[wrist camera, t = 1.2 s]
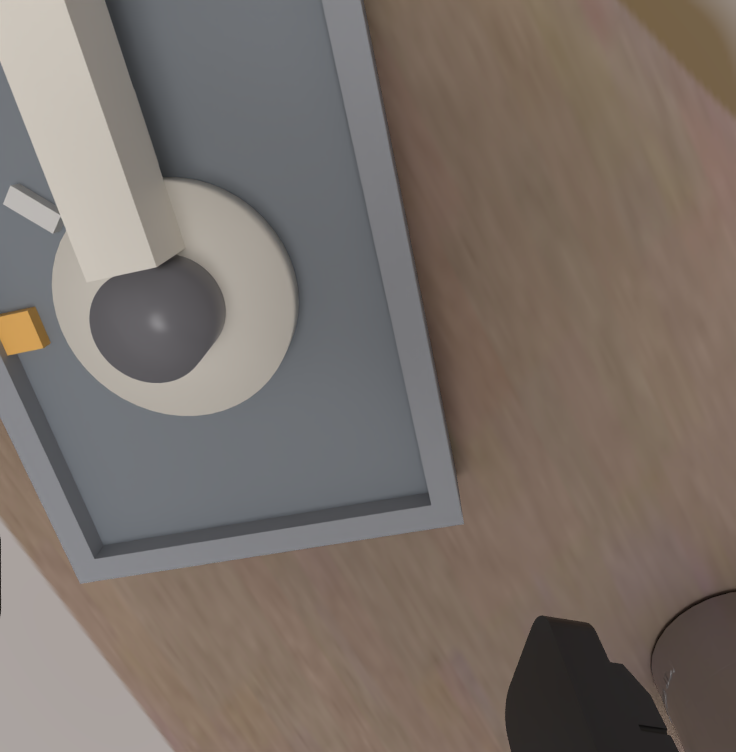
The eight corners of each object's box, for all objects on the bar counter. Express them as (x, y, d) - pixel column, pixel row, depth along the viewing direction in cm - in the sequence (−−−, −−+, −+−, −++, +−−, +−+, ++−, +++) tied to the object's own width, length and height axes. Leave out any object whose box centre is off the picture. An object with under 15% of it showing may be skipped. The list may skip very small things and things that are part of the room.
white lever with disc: (323, 378, 27) (308, 430, 22) (119, 417, 28) (69, 472, 24) (177, -165, 20) (118, -237, 16) (-84, -85, 21) (-205, -132, 17)
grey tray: (343, -102, 23) (332, -141, 19) (456, 475, 32) (463, 523, 28) (-107, 25, 25) (-194, 12, 22) (114, 531, 34) (80, 583, 30)
